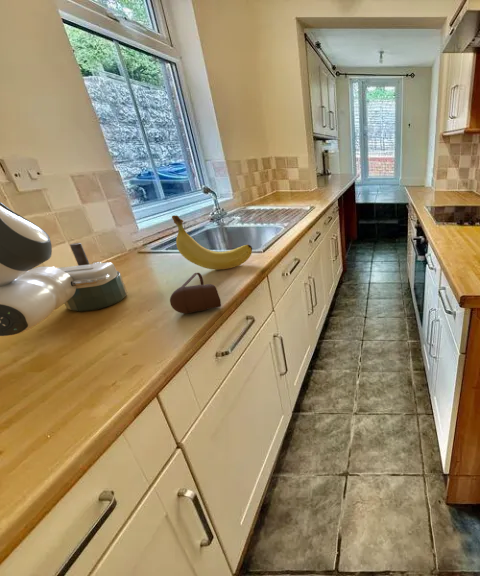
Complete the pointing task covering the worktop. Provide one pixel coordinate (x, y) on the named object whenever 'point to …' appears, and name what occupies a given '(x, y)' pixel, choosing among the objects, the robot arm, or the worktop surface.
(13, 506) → the worktop surface
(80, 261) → the stirring stick
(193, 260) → the banana
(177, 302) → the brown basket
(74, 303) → the bowl
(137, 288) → the worktop surface
